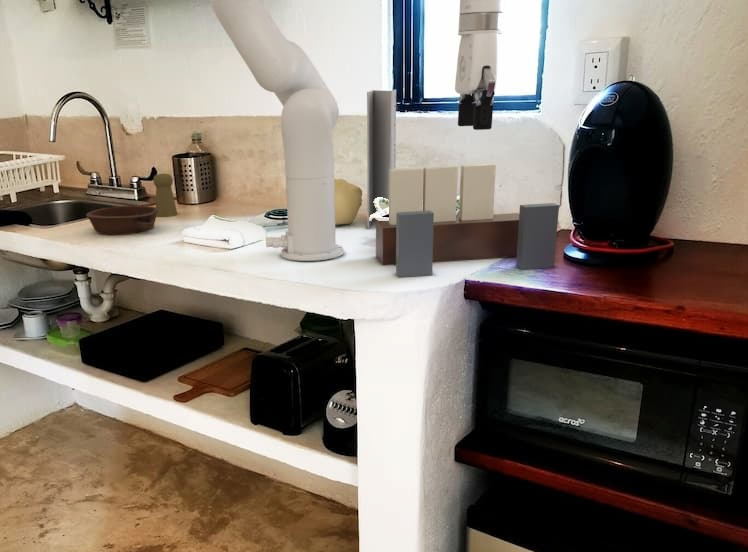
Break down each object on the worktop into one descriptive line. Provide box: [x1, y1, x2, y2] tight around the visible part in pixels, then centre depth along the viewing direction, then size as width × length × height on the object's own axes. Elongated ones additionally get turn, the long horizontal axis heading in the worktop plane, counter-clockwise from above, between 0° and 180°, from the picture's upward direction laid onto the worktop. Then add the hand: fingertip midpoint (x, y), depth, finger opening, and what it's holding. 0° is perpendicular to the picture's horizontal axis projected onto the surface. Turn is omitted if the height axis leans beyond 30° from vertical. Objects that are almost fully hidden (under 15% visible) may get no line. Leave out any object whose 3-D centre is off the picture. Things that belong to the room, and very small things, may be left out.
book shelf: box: [375, 212, 519, 266], centre depth 148 cm, size 28×7×7 cm, turn 94°
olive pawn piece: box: [152, 173, 178, 218], centre depth 211 cm, size 6×6×11 cm
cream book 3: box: [458, 163, 497, 221], centre depth 145 cm, size 6×2×10 cm, turn 94°
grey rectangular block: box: [515, 202, 560, 270], centre depth 136 cm, size 6×3×11 cm, turn 94°
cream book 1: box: [389, 167, 423, 225], centre depth 144 cm, size 6×2×10 cm, turn 94°
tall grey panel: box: [366, 88, 397, 230], centre depth 180 cm, size 14×6×30 cm, turn 168°
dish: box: [85, 205, 158, 235], centre depth 192 cm, size 18×22×5 cm
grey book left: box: [395, 210, 434, 278], centre depth 136 cm, size 6×3×11 cm, turn 94°
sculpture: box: [334, 178, 363, 226], centre depth 185 cm, size 11×12×11 cm
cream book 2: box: [422, 165, 459, 222], centre depth 145 cm, size 6×2×10 cm, turn 94°
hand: (473, 127), depth 141 cm, fingers open, 9 cm apart
